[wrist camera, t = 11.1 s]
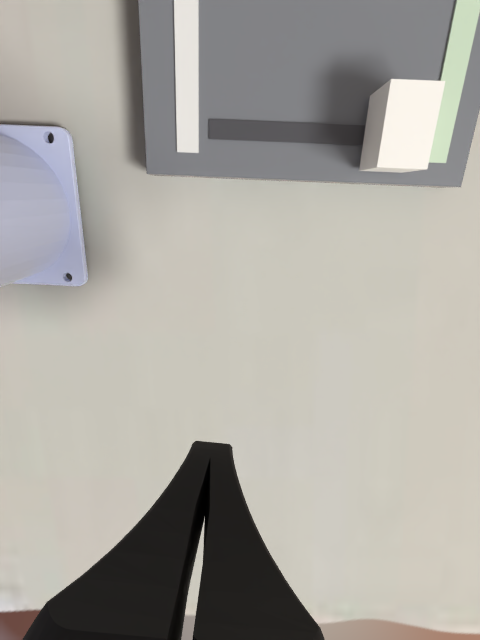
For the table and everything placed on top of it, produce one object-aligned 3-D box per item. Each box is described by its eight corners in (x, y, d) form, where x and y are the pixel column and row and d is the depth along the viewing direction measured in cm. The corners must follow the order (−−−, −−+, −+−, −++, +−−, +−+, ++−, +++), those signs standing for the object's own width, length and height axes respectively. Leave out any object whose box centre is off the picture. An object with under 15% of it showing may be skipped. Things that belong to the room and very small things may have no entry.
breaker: (359, 170, 16) (376, 167, 14) (370, 96, 15) (391, 78, 13) (402, 172, 16) (427, 169, 14) (416, 97, 15) (445, 80, 13)
